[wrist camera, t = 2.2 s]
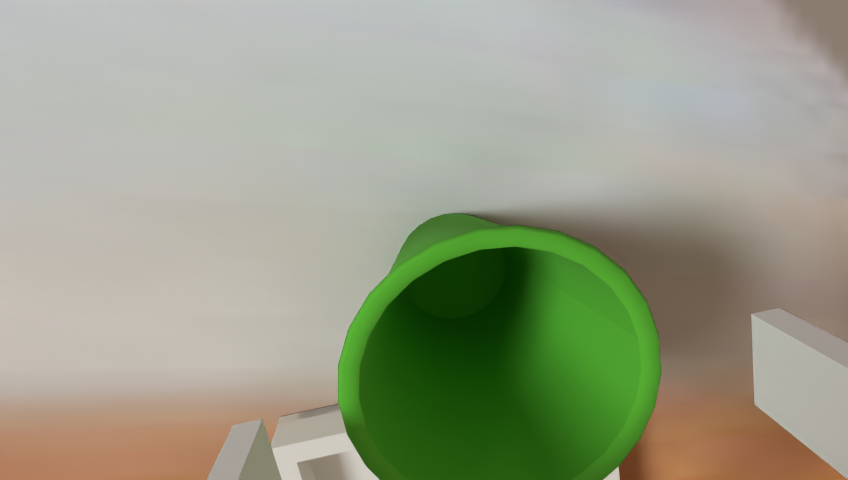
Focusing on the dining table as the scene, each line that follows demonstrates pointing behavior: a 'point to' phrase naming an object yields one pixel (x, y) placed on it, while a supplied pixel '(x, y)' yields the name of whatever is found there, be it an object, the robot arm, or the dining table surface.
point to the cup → (498, 358)
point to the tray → (323, 448)
